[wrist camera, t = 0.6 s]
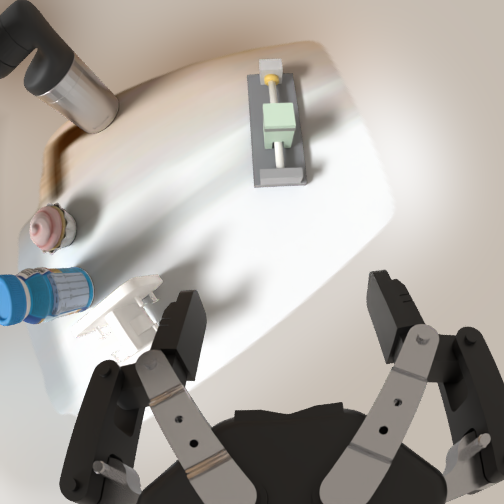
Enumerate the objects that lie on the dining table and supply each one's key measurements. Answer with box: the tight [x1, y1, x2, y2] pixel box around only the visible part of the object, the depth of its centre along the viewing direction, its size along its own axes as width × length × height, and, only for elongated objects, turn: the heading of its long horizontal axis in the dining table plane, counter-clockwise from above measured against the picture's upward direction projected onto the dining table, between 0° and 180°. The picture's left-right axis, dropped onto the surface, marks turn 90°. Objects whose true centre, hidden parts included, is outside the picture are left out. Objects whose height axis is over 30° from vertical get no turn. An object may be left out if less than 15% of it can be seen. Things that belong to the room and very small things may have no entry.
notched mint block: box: [262, 103, 296, 149], centre depth 38 cm, size 4×4×8 cm
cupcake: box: [30, 203, 76, 255], centre depth 40 cm, size 9×9×10 cm
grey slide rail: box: [247, 59, 307, 188], centre depth 41 cm, size 21×8×6 cm, turn 3°
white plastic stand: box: [71, 274, 163, 366], centre depth 38 cm, size 15×11×12 cm
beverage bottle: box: [0, 267, 94, 326], centre depth 35 cm, size 8×8×20 cm
